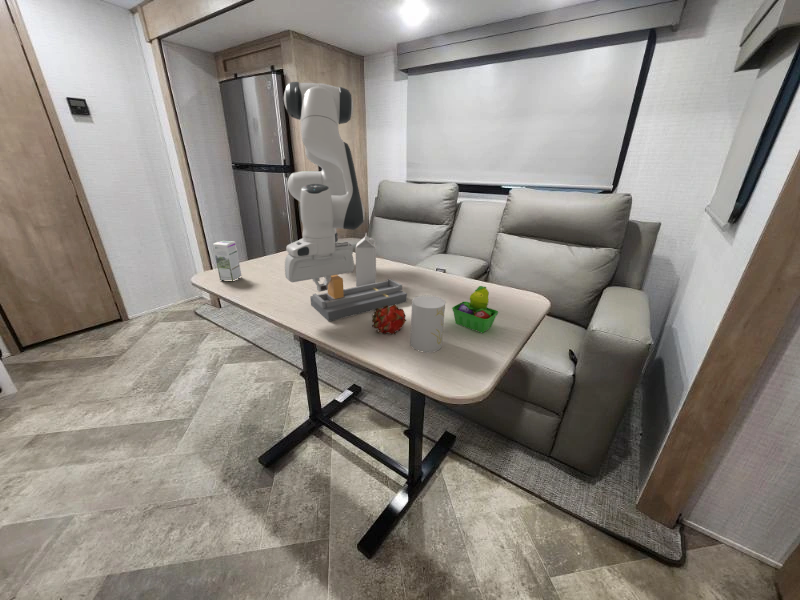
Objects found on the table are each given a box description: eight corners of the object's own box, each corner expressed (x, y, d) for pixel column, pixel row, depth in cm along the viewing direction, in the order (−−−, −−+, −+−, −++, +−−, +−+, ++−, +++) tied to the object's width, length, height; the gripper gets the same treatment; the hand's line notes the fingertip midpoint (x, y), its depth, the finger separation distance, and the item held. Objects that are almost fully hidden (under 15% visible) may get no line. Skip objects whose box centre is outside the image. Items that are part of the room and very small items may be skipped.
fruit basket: (449, 323, 95) (452, 287, 91) (464, 314, 101) (468, 280, 97) (484, 336, 88) (490, 298, 84) (498, 326, 95) (504, 289, 90)
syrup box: (242, 277, 127) (236, 240, 121) (233, 282, 122) (226, 244, 116) (229, 276, 128) (222, 239, 122) (219, 281, 122) (211, 243, 117)
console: (310, 305, 104) (308, 290, 102) (384, 288, 120) (385, 276, 118) (327, 321, 94) (326, 306, 92) (407, 301, 109) (407, 287, 107)
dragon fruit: (369, 343, 86) (399, 334, 95) (390, 335, 81) (420, 326, 89) (359, 313, 88) (390, 307, 96) (379, 303, 82) (410, 297, 91)
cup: (438, 354, 79) (442, 310, 75) (406, 349, 81) (408, 305, 77) (443, 339, 87) (447, 297, 82) (414, 334, 89) (416, 293, 84)
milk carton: (356, 287, 121) (354, 236, 113) (357, 280, 127) (356, 232, 120) (375, 287, 121) (375, 236, 113) (376, 281, 127) (376, 232, 120)
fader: (326, 297, 102) (325, 275, 99) (338, 295, 104) (337, 273, 101) (333, 303, 98) (332, 280, 95) (345, 300, 100) (344, 278, 97)
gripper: (347, 239, 100) (349, 281, 105) (280, 246, 89) (285, 293, 95) (357, 243, 95) (358, 287, 101) (287, 251, 84) (292, 300, 90)
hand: (322, 290), depth 98 cm, fingers closed
